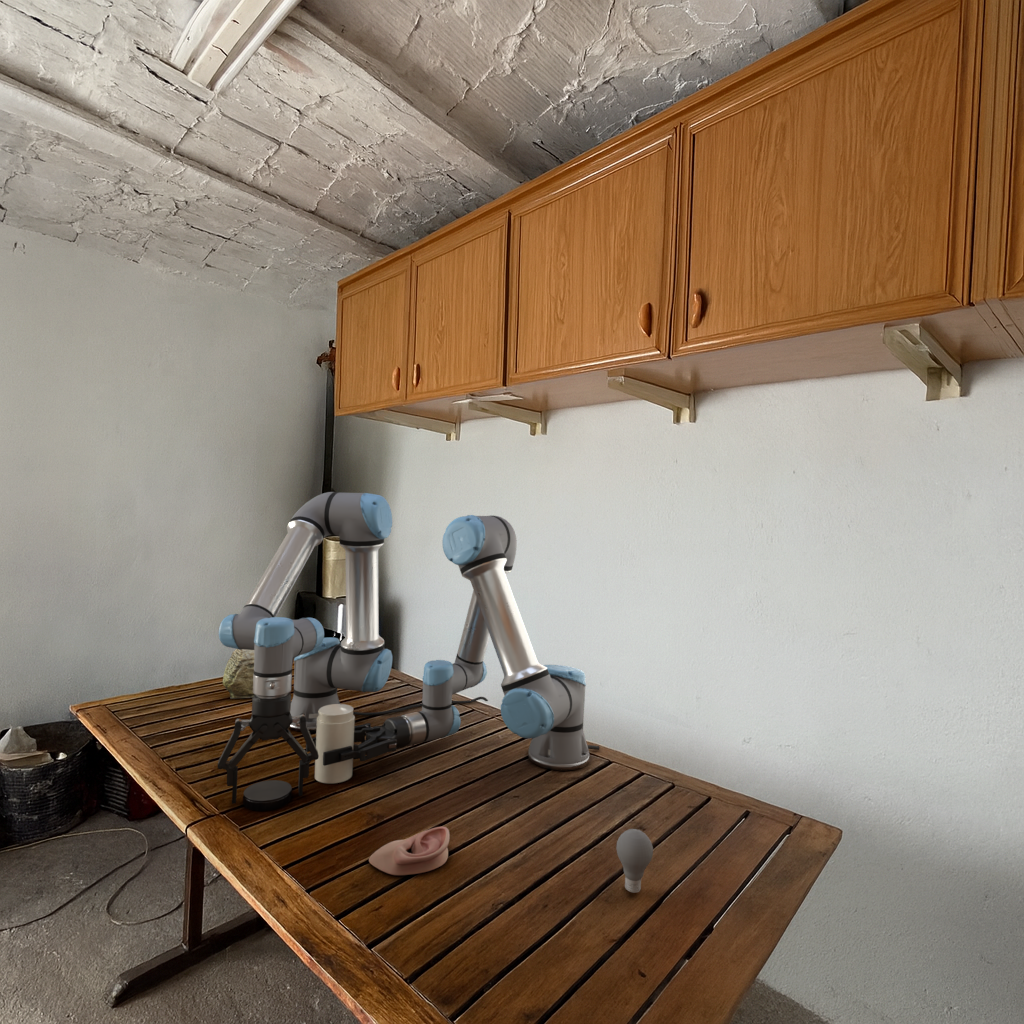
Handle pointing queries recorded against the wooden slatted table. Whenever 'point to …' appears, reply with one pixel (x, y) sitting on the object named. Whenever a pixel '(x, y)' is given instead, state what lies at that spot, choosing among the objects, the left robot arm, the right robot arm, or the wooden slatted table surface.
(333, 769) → the jar
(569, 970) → the wooden slatted table surface
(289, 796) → the lid
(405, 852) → the anatomical model
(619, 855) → the light bulb
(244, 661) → the fossil
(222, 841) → the wooden slatted table surface
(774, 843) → the wooden slatted table surface
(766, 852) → the wooden slatted table surface
